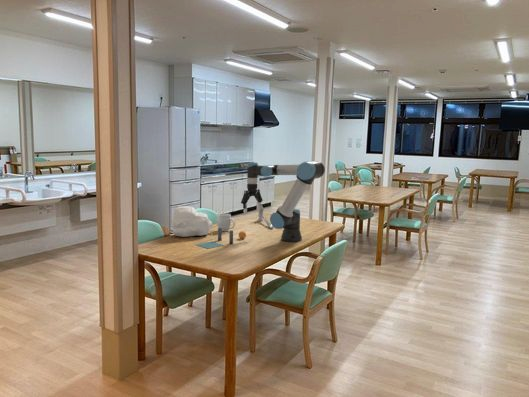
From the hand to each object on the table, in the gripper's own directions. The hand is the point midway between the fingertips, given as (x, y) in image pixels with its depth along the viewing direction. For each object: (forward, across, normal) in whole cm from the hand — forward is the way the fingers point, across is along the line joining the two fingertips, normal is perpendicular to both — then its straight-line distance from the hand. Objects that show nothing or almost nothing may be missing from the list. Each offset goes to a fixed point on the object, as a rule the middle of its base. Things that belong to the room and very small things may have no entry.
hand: (251, 211), depth 325 cm
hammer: (+20, -43, -25) cm, 54 cm away
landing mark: (+19, +38, -2) cm, 43 cm away
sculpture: (+20, +27, -36) cm, 49 cm away
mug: (+19, -1, -30) cm, 36 cm away
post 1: (+19, +24, -8) cm, 32 cm away
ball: (+16, +8, -1) cm, 18 cm away
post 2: (+19, +25, +5) cm, 31 cm away
